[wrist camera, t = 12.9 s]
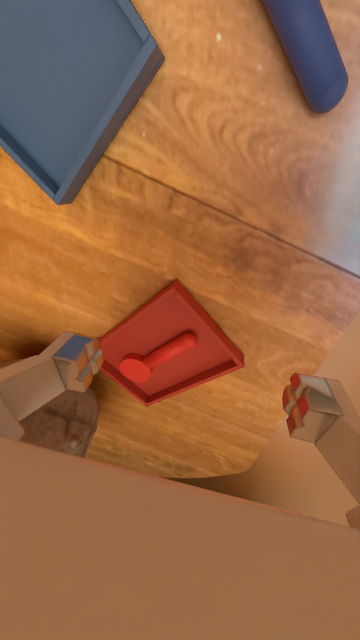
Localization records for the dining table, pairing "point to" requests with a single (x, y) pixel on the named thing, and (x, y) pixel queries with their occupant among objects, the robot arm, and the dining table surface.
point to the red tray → (161, 328)
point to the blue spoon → (310, 50)
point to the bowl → (62, 421)
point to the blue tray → (69, 84)
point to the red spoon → (155, 358)
